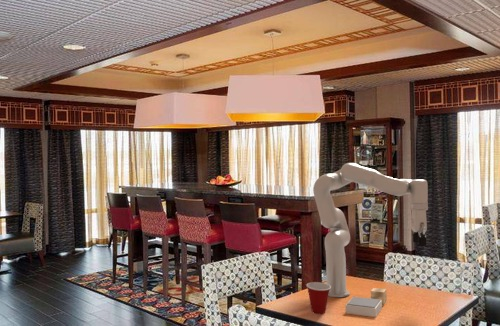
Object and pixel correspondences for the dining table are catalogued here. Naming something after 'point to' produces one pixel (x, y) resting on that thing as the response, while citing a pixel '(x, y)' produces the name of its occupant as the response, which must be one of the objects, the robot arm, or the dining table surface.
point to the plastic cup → (318, 296)
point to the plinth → (364, 306)
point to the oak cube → (379, 294)
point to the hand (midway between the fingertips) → (419, 244)
